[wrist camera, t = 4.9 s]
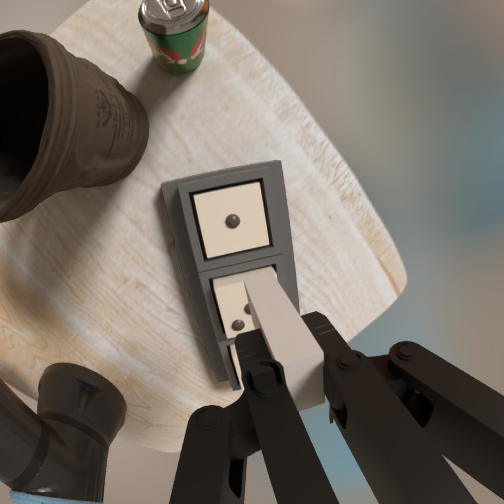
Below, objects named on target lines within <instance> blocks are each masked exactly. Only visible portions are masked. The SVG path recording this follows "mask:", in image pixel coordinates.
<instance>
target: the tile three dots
mask: <svg viewBox="0 0 504 504" xmlns="http://www.w3.org/2000/svg"><path fill="white" fill-rule="evenodd" d="M271 272H272V273H273V275H274V276H275V278H276V279H277V274H276V272H275V271H274V269H273V268H272V266H271V265H267V266H263V267H258V268H254V269H250V270H245V271H241V272H236V273H232V274H228V275H223V276H219V277H214V278H213V283H214V290H215V293H216V297H217V301H218V305H219V309H220V313H221V317H222V320H223V324H224V328H225V332H226V335H227V339H228V338H233V337H236V336H237V334H240V333H244V332H247V331H251V330H255V327H254V325H253V321H252V317H251V312H250V308H249V303H248V299H247V295H246V290H245V286H244V281H243V279H247V278H251V277H255V276H259V275H263V274H267V273H271ZM277 281H278V279H277Z"/></svg>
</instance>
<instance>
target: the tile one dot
mask: <svg viewBox="0 0 504 504" xmlns="http://www.w3.org/2000/svg"><path fill="white" fill-rule="evenodd" d="M194 200H195V205H196V209H197V214H198V219H199V223H200V228H201V232H202V236H203V241H204V245H205V249H206V254H207V258H211V257H215V256H220V255H224V254H229V253H233V252H238V251H242V250H247V249H251V248H256V247H260V246H265V245H269V239H268V233H267V226H266V220H265V213H264V207H263V201H262V195H261V188H260V183H259V182H257V181H255V180H252V181H247V182H241V183H236V184H231V185H226V186H221V187H216V188H212V189H207V190H202V191H198V192H194Z"/></svg>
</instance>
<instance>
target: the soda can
mask: <svg viewBox="0 0 504 504" xmlns="http://www.w3.org/2000/svg"><path fill="white" fill-rule="evenodd" d="M208 14H209V0H143V1H142V4H141V5H140V8H139V12H138V19H139V22H140V24H141V27H142V29H143V31H144V34H145V36H146V38H147V41H148V43H149V45H150V48H151V50H152V52H153V55H154V57H155V59H156V61H157V63H158V65H159V66H160V68H162V69H163V70H164V71H166V72H168V73H172V74H182V73H186V72H189V71H191V70H193V69H194V68H196V67H197V66H198V65H199V64H200V63H201V61H202V59H203V57H204V51H205V41H206V32H207V23H208Z"/></svg>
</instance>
